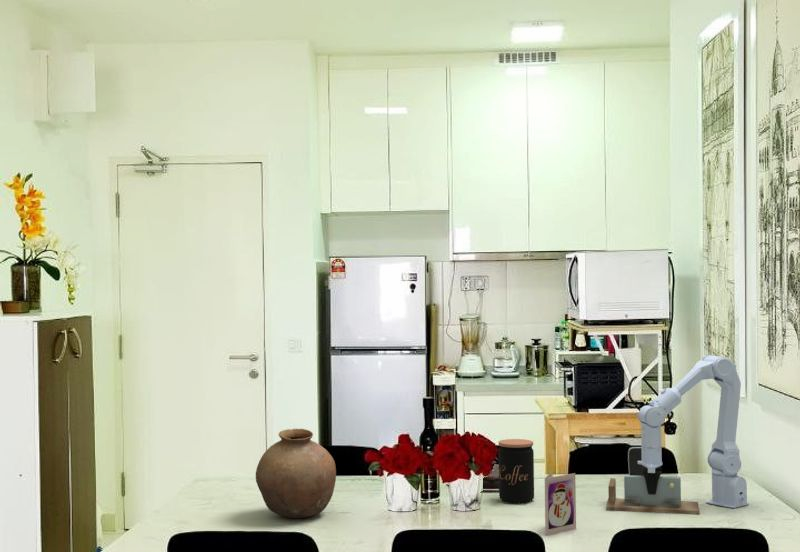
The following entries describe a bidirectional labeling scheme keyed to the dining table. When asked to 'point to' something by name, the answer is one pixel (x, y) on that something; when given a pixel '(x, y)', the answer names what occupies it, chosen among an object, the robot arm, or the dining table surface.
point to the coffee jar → (516, 471)
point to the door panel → (665, 490)
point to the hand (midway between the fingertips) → (652, 493)
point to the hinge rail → (634, 505)
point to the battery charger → (635, 461)
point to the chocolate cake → (492, 481)
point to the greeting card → (560, 503)
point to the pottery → (296, 475)
